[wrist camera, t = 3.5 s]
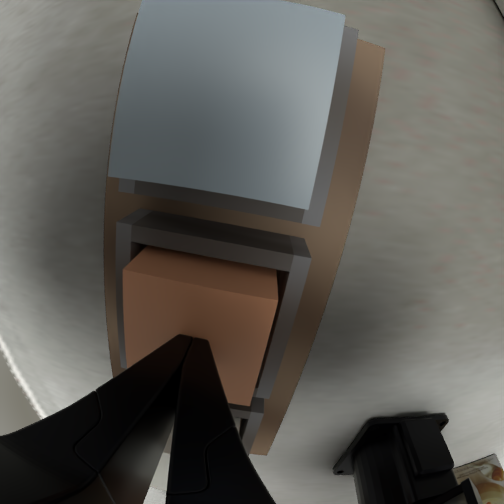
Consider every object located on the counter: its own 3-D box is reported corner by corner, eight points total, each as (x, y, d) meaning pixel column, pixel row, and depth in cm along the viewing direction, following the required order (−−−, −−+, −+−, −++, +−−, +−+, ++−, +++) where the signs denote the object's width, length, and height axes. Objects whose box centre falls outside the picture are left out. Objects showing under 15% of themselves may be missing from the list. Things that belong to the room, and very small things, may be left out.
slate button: (294, 187, 8) (308, 209, 6) (156, 163, 8) (107, 176, 6) (320, 54, 7) (345, 15, 4) (181, 35, 7) (144, -6, 4)
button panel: (267, 435, 16) (266, 480, 13) (129, 407, 16) (111, 447, 13) (371, 58, 9) (407, 33, 6) (151, 25, 9) (115, -6, 6)
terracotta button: (253, 349, 12) (249, 406, 9) (154, 329, 12) (128, 379, 9) (275, 256, 10) (278, 300, 7) (159, 234, 10) (122, 269, 7)
